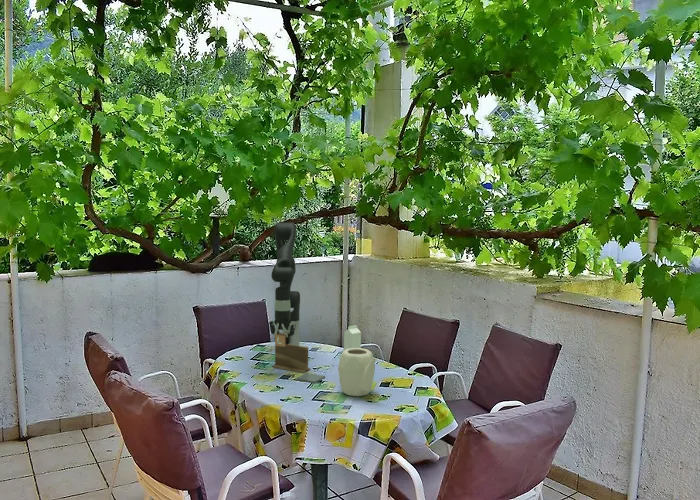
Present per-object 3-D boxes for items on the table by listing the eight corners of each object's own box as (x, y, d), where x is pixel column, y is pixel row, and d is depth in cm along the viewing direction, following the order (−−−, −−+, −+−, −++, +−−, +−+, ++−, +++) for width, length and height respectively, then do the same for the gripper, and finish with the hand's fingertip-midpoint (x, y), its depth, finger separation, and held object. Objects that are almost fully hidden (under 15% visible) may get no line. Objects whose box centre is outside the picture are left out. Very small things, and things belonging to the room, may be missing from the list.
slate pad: (306, 374, 285) (306, 372, 285) (325, 377, 281) (325, 375, 281) (296, 380, 276) (296, 378, 276) (314, 383, 272) (314, 381, 272)
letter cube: (280, 342, 288) (280, 332, 287) (289, 344, 286) (289, 333, 285) (274, 345, 283) (274, 334, 282) (283, 346, 281) (283, 336, 280)
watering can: (358, 406, 244) (359, 361, 243) (327, 387, 267) (328, 346, 265) (389, 400, 252) (391, 356, 251) (356, 382, 275) (357, 342, 273)
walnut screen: (279, 364, 300) (279, 341, 299) (310, 370, 293) (310, 346, 291) (272, 367, 295) (272, 344, 294) (304, 373, 287) (304, 348, 286)
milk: (360, 369, 296) (361, 325, 294) (351, 371, 292) (352, 327, 290) (351, 366, 300) (353, 323, 298) (342, 368, 296) (344, 325, 294)
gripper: (299, 309, 283) (299, 343, 285) (274, 305, 289) (273, 339, 291) (291, 311, 276) (291, 347, 278) (265, 308, 282) (265, 343, 284)
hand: (282, 343), depth 284 cm, fingers closed on letter cube, 5 cm apart
